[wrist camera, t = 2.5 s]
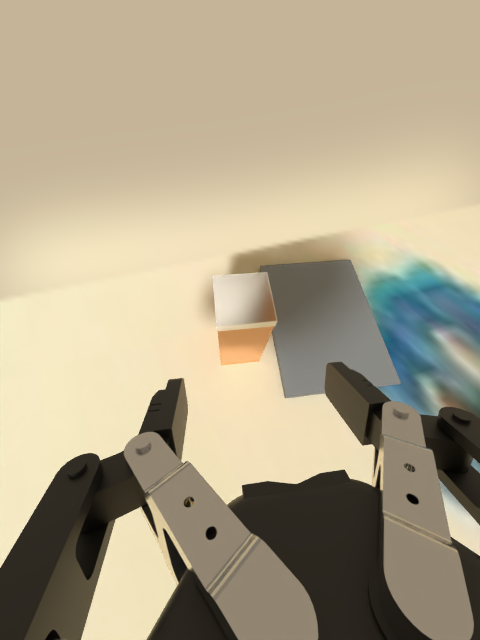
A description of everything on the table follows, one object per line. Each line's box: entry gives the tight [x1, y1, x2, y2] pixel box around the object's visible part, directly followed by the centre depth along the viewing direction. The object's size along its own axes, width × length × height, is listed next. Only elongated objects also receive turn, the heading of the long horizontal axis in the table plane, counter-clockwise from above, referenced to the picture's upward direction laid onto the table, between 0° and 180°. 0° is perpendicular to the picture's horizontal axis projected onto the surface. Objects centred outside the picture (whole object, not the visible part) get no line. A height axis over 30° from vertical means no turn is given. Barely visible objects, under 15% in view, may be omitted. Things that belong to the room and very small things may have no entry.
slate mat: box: [260, 260, 401, 398], centre depth 27 cm, size 12×16×1 cm
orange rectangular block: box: [212, 272, 277, 365], centre depth 21 cm, size 4×4×10 cm
